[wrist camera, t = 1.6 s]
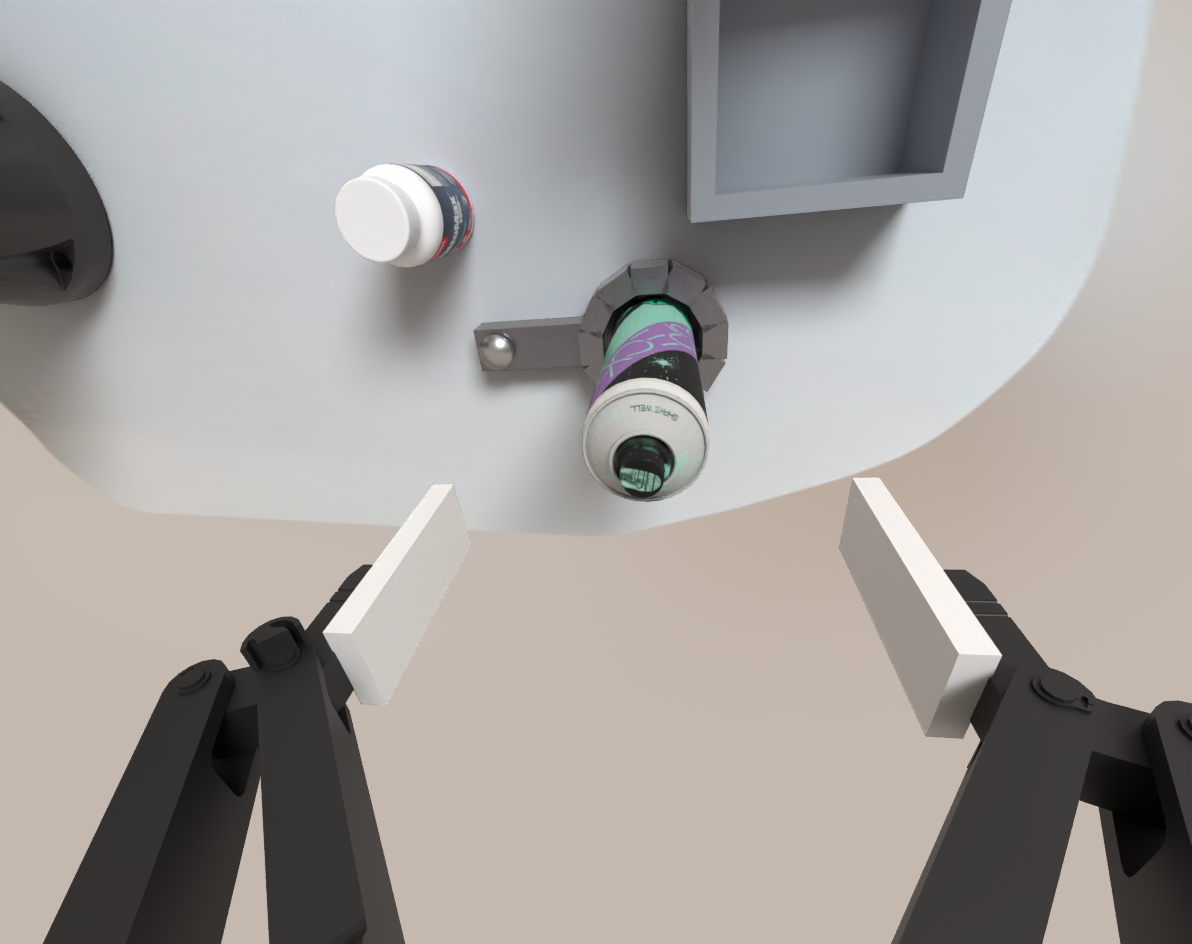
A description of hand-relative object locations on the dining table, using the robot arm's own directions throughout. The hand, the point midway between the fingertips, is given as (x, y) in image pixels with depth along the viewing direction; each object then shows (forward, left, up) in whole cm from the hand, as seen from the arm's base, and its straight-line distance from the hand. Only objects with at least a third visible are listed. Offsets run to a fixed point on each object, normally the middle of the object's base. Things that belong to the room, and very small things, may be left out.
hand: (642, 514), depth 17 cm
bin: (+9, +14, -22) cm, 28 cm away
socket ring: (-4, 0, -22) cm, 23 cm away
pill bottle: (-14, +9, -22) cm, 28 cm away
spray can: (0, 0, -22) cm, 22 cm away
